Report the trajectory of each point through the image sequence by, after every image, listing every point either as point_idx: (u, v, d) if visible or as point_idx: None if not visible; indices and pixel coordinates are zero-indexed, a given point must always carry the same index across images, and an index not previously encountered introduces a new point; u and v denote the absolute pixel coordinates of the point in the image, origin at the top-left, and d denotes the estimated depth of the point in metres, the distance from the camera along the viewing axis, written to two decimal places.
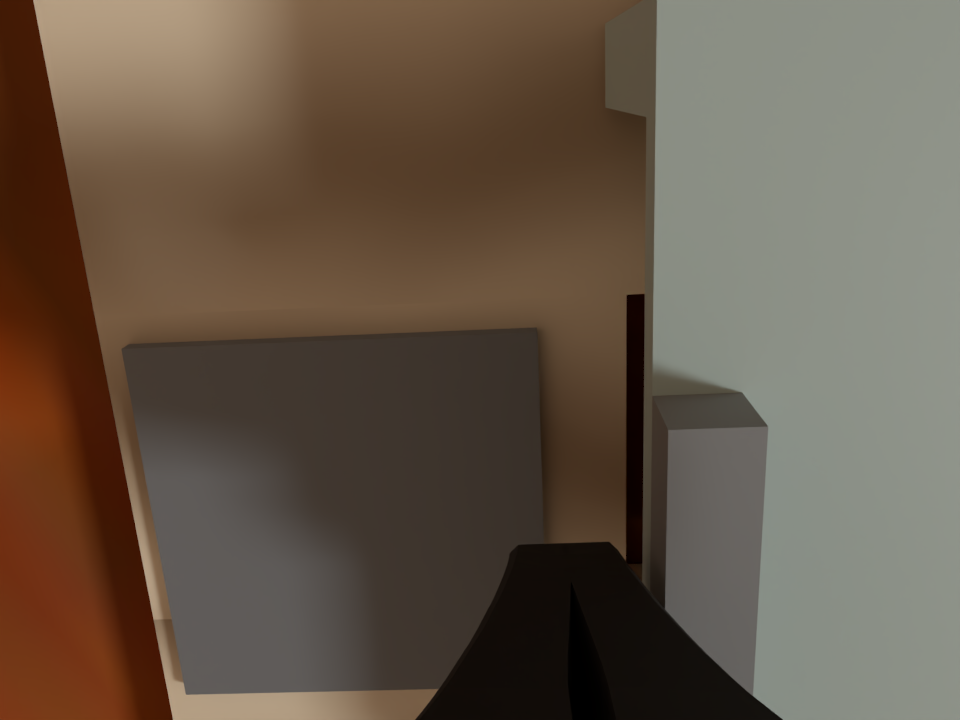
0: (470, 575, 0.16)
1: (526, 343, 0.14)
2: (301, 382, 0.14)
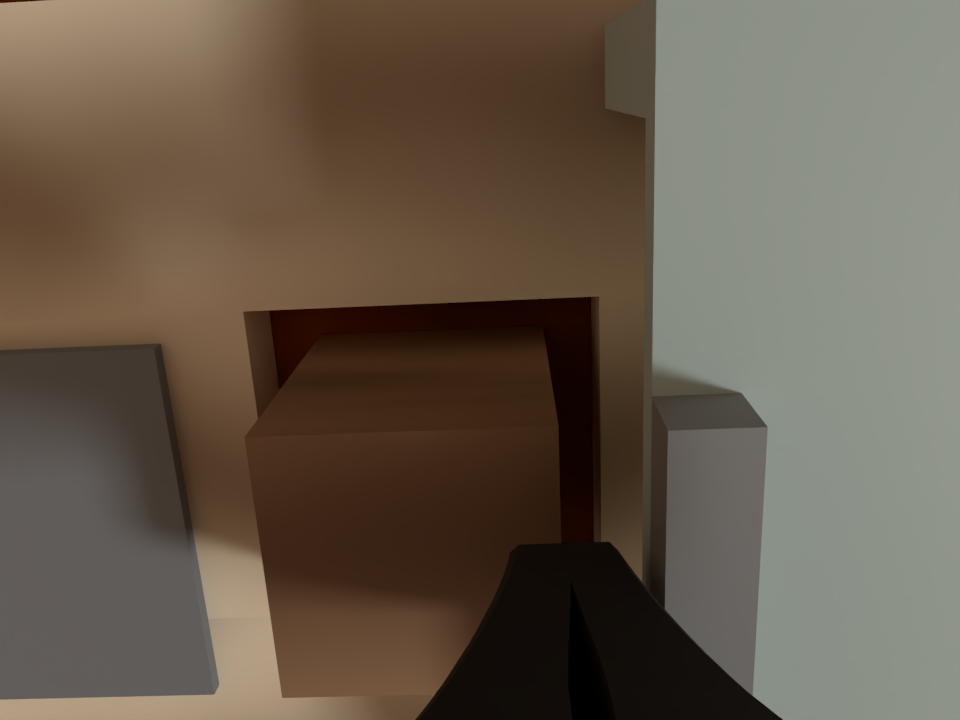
0: (122, 586, 0.16)
1: (145, 359, 0.14)
2: None
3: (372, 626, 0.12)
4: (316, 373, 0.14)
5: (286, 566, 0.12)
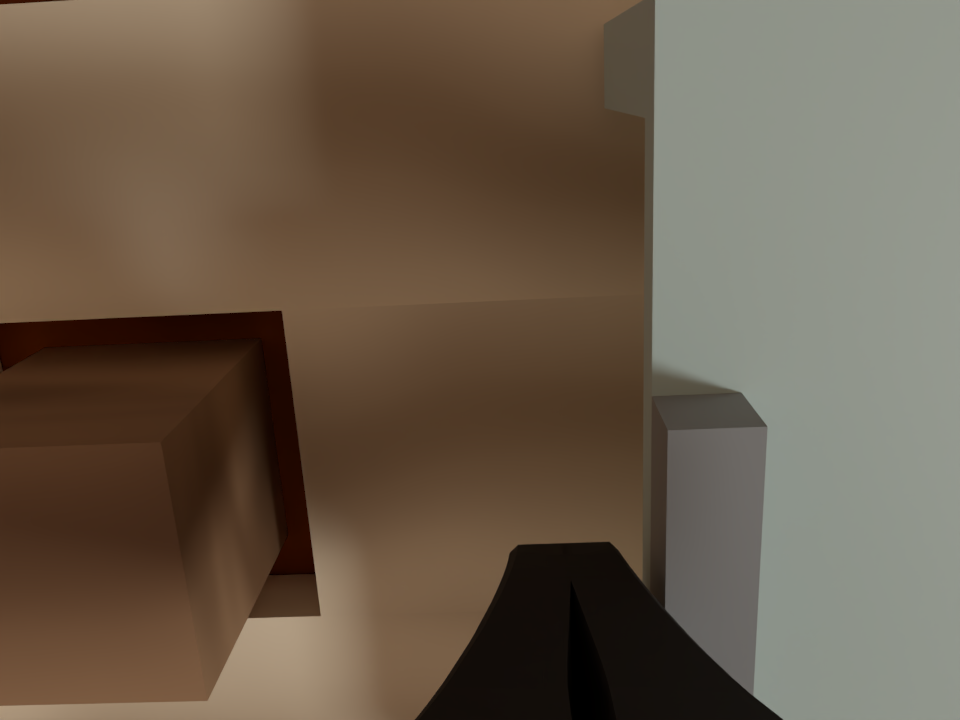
0: None
1: None
2: None
3: (11, 638, 0.13)
4: None
5: None
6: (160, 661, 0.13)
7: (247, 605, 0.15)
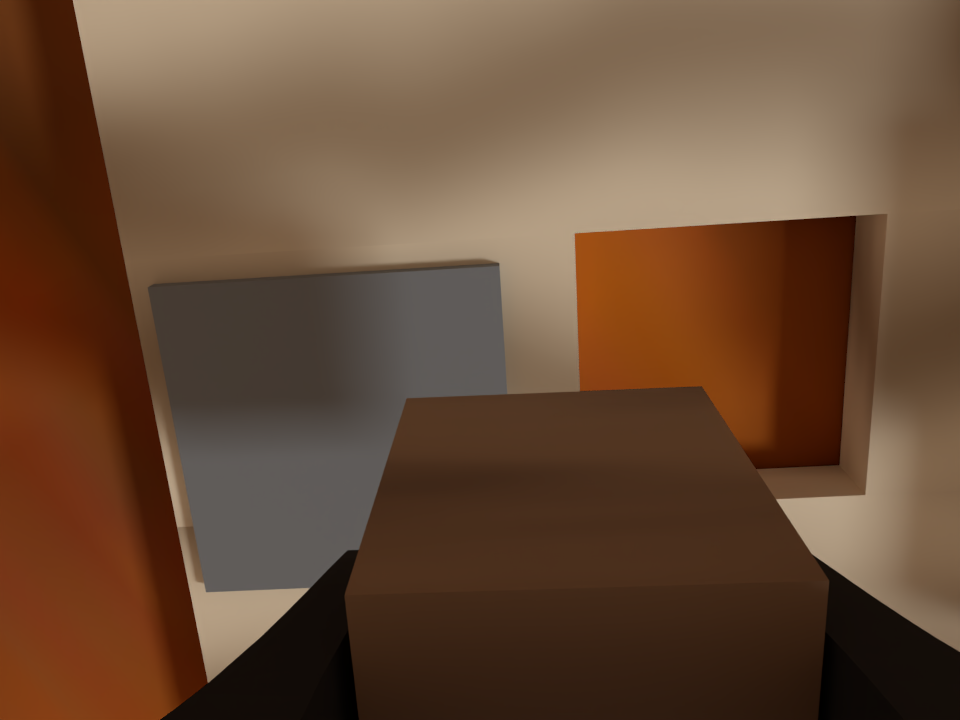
0: None
1: (490, 276, 0.17)
2: (300, 313, 0.17)
3: None
4: (420, 467, 0.10)
5: None
6: None
7: None
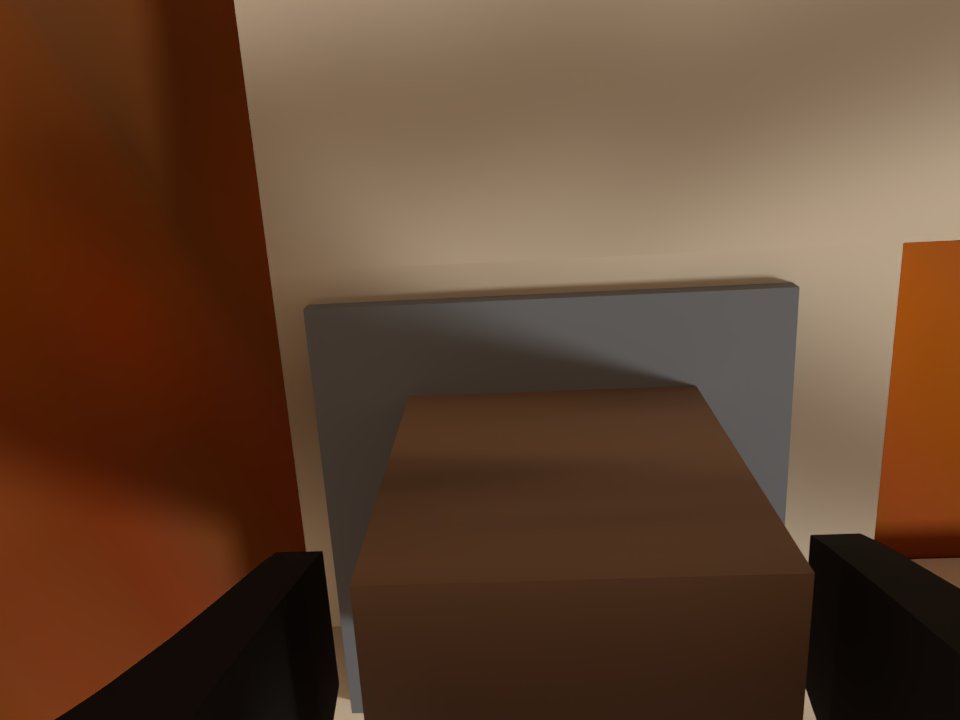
0: None
1: (785, 300, 0.12)
2: (513, 348, 0.12)
3: None
4: (421, 463, 0.10)
5: None
6: None
7: None
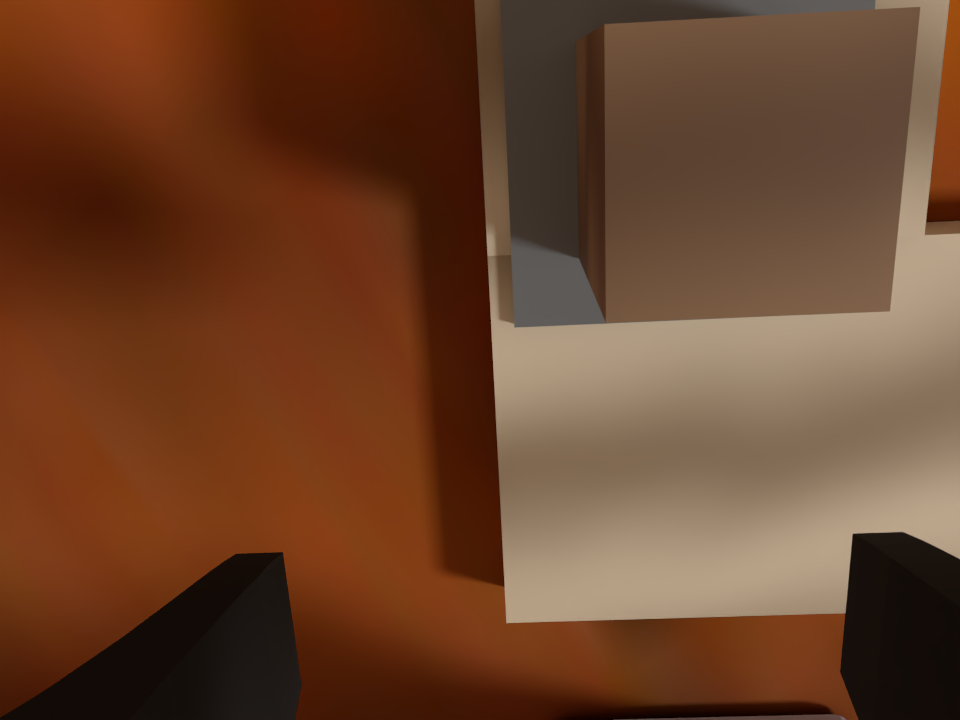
0: None
1: None
2: None
3: (706, 239, 0.12)
4: None
5: (628, 171, 0.12)
6: (853, 265, 0.12)
7: None
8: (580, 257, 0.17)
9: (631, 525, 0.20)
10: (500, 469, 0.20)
